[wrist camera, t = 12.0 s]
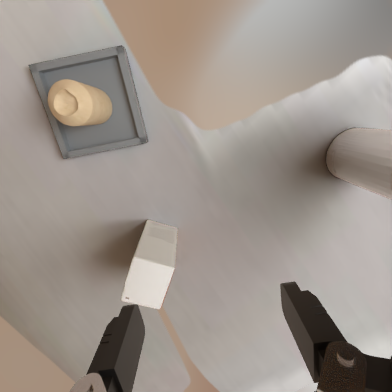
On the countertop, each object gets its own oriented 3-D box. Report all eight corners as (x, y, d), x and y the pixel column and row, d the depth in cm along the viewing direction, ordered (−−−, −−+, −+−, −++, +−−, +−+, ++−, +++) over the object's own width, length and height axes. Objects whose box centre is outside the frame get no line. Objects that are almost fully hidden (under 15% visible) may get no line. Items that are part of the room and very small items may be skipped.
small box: (167, 261, 48) (160, 311, 36) (137, 253, 47) (119, 301, 35) (179, 227, 46) (175, 268, 33) (147, 218, 45) (131, 256, 32)
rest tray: (125, 49, 36) (121, 45, 34) (148, 141, 40) (146, 142, 38) (36, 67, 36) (28, 65, 34) (69, 157, 40) (63, 159, 39)
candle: (80, 82, 36) (42, 70, 27) (115, 94, 37) (91, 86, 28) (75, 118, 38) (38, 118, 28) (109, 128, 39) (84, 132, 29)
